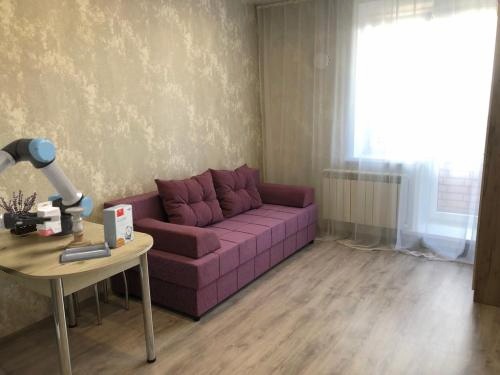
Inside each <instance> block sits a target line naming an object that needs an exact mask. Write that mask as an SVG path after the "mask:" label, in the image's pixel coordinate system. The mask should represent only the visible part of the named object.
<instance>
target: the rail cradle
mask: <svg viewBox="0 0 500 375" xmlns="http://www.w3.org/2000/svg"><path fill="white" fill-rule="evenodd" d="M110 248H111V247H109V245H108V244H107V241H105V240H104V244H96V245H91V246H87V247H80V248H72V249H68V248H66V249H65V251H61V264H65V263H72V262H78V261H85V260H92V259H99V258H107V257H112V254H111V249H110Z"/></svg>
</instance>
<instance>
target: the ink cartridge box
mask: <svg viewBox="0 0 500 375" xmlns="http://www.w3.org/2000/svg"><path fill="white" fill-rule="evenodd" d="M36 212H37V216H38V217H43V216H52V215H59V218H60V210H59V208H58V207H52V201H49V202H48V201H44V202H40V203H37V204H36ZM37 225H38V232H39V234H38V235H39V236H44V237H47V236H48V237H49V236H52V235H51V234H55V233H58V232H61V221H54V222H44V224H43V225H41V224H37Z"/></svg>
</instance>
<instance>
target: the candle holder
mask: <svg viewBox="0 0 500 375" xmlns="http://www.w3.org/2000/svg"><path fill="white" fill-rule="evenodd" d="M86 210H87V208H86V207H73V208H68V209H66V210H65V212H66V213H71V215H73V216H72V221H73V227H72V230H73V231H74V232H73V233H71V235H72V236H73V240H71V241H70V242H69V243H67V244H66V249H72V248H80V247H87V246H93V242H92V241H91V240H89V239H87V238H84V235H85V232H84V231H83V230H84V225H83V223H82V220H83V217H80V215H81V213H82V212H84V211H86Z"/></svg>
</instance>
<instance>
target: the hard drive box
mask: <svg viewBox="0 0 500 375" xmlns="http://www.w3.org/2000/svg"><path fill="white" fill-rule="evenodd" d="M102 219H103V222H102V224H103V234H104V235H103V236H104V238H103V239H104V241H107V244H108V245H109V248H113V249H114V248H116V249H117V248H119V247H122V246H123V245H125V244H128V243H130V242H132V241H133V239H134V226H133V206H132V204H122V203H121V204H117V205H114V206H111V207H108V208H104V209H103V210H102ZM131 240H132V241H131ZM129 241H130V242H129ZM127 242H128V243H127Z"/></svg>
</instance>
